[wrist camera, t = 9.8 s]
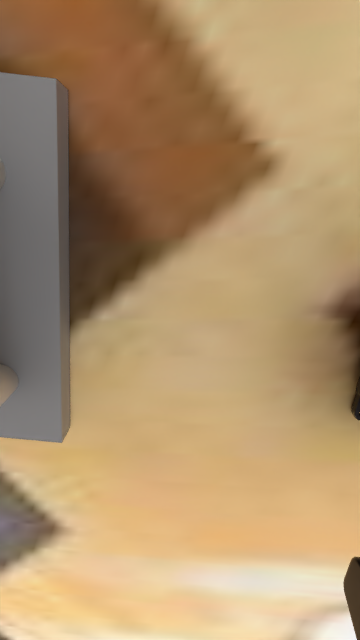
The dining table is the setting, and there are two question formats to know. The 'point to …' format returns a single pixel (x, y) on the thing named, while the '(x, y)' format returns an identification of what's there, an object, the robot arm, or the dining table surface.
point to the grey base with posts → (34, 259)
